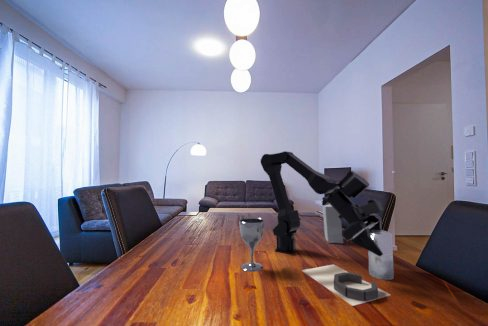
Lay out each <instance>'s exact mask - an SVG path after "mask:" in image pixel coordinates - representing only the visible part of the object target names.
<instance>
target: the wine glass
mask: <svg viewBox="0 0 488 326" xmlns="http://www.w3.org/2000/svg"><path fill="white" fill-rule="evenodd" d="M264 222H265V219H264V218H261V217H244V218H241V219H239V232H240V236H241V237H240V238H241V239H242V240H243V242H244V243H245V244H246V245H247V246H248V248H249V253H250V262H245V263H242V265H240V268H241V270H243V271H245V272H251V273H253V272H254V273H255V272H256V273H257V272H259V271H262V270H263V269H264V265H263V264H262V263H259V262H255V261H254V253H255V248H256V247H257V245H258V244H259V242H260V241H261V240H262V239H263V235H264V227H265V223H264Z"/></svg>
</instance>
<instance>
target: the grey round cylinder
mask: <svg viewBox="0 0 488 326" xmlns="http://www.w3.org/2000/svg"><path fill="white" fill-rule="evenodd" d="M369 235H370V237H371V238H372V239H373V241H374V242H375V243H376V245H377V246H378V247H379V249H380V250H381V252H382V253H383V255H381V256H378V255H376V254H374V253H372V252H370V251H369V250H367V251H368V273H369V276H371V277H373V278H375V279H378V280H382V281H383V280H384V281H391V280H394V254H393V253H394V251H393V250H394V249H393V233H392V232H389V231H387V230H383V229H382V230H369Z"/></svg>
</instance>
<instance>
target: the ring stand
mask: <svg viewBox="0 0 488 326" xmlns="http://www.w3.org/2000/svg"><path fill="white" fill-rule="evenodd" d="M301 272H303V273H304V274H305V275H307V276H308V277H310V278H312V279H313V280H315V281H316V282H317V283H319V284H320V285H322V286H323V287H325V288H326V289H328V290H329V291H330V292H332V293H333V294H334V295H336V296H337V297H339V298H340V299H342V300H343V301H345V302H346V303H347V304H349V305H350V306H352V307H354V306H358V305H361V304H365V303H369V302H372V301H375V300H378V299H379V300H380V299H382V298H386V297H390V296H391V294H390V293H389V292H387V291H384V289H381V288H378V284H377V282H376V281H370V282H368V281H366V280H364V279H362V277H363V276H362V274H361V273H355V272H349V271H347V270H344V269H343V268H341V267H339V266H337V265H335V264H334V263H333V264H329V265H328V264H327V265H323V266H319V267H318V266H317V267H313V268H306V269H302V270H301Z"/></svg>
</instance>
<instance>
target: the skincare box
mask: <svg viewBox="0 0 488 326" xmlns="http://www.w3.org/2000/svg"><path fill="white" fill-rule="evenodd" d="M322 216H323V228H324V239H325V241H327V243H329V244H344V238H343V236H342V231H343V227H342V226H343V225H342V219H340V218H339V217H338V216H339V214H338V213H337V211H336V210H335V209H334V208H333V207H332V206H331V205H330V204H328V205H324V206H323V205H322Z"/></svg>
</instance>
